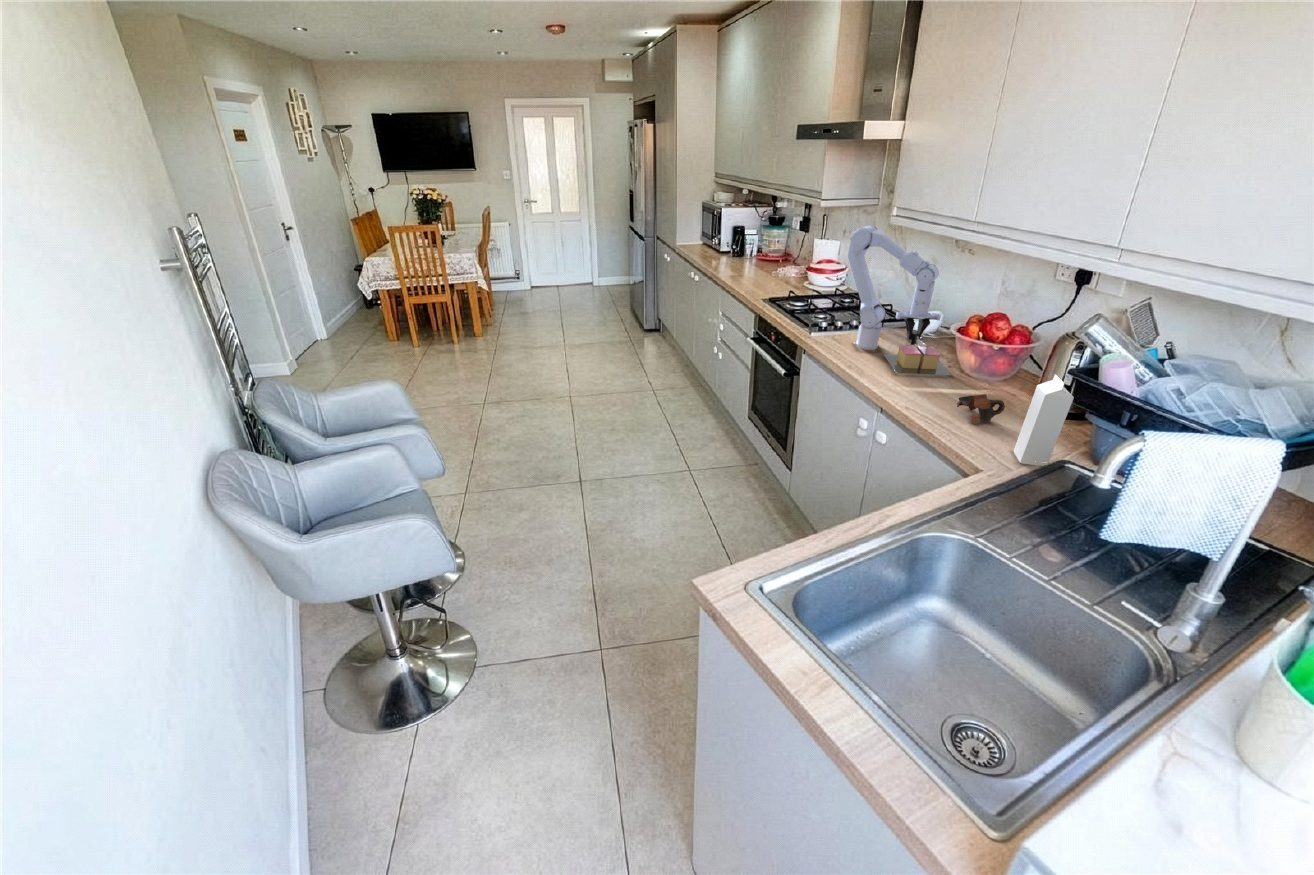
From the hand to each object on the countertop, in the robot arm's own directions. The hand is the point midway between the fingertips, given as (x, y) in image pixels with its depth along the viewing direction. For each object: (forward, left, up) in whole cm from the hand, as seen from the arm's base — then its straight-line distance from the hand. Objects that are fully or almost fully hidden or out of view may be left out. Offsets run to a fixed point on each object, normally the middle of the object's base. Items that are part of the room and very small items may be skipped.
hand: (912, 338), depth 201 cm
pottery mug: (+48, +6, -7) cm, 49 cm away
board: (+9, 0, -7) cm, 11 cm away
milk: (+71, +10, -7) cm, 72 cm away
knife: (+6, 0, -1) cm, 6 cm away
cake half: (+9, -3, -6) cm, 11 cm away
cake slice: (+9, +3, -6) cm, 11 cm away
